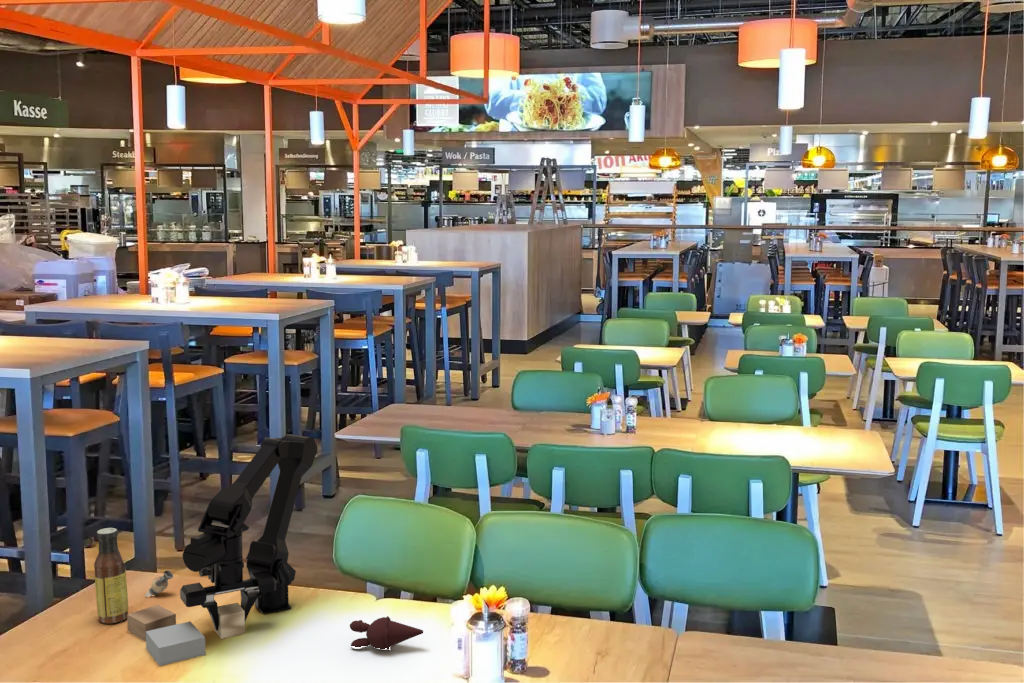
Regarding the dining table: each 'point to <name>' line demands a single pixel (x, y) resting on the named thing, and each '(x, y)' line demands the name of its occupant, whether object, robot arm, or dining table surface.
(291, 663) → the dining table surface
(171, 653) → the slate block
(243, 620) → the birch cube
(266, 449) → the robot arm
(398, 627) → the icecream
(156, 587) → the vase
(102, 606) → the sauce bottle
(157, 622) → the walnut block
